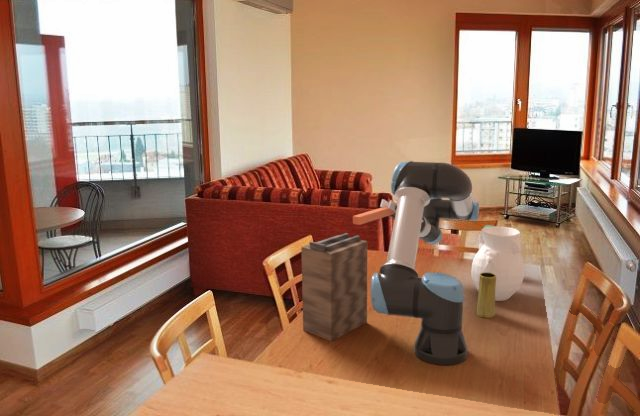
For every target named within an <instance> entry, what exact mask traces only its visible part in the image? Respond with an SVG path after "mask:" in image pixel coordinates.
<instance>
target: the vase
mask: <svg viewBox="0 0 640 416" xmlns="http://www.w3.org/2000/svg"><path fill="white" fill-rule="evenodd" d="M495 286H496V275H495V274H493V273H489V272H484V273H480V278H479V291H478V294H477V295H478V296H477V304H476V305H477V306H476V312H475V313H476V315H477V316H478V317H481V318H485V319H490V318H491V319H492V318H494V317H495V316H496V301H495Z"/></svg>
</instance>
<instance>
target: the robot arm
mask: <svg viewBox="0 0 640 416" xmlns="http://www.w3.org/2000/svg"><path fill="white" fill-rule="evenodd" d="M472 183H473V182H472V180H471V177H469V175H468V174H467V173H466V172H465V171H463V170H462V169H461V168H460V167H457V166H455V165H453V164H450V163H446V162H431V161H426V162H425V161H413V160H409V161H401V162H399V163H397V164H396V166H395V167H394V169H393V173H392V177H391V183H390V189H391V193H392V195H393V196H394V199H395V201H396V202H394V201H393V200H392V199H390V200H389V201H387V200H386V199H383V198H382V199H381V202H380V206H379V208H382V207H385V206H388V208H389V209H391V210H392V211H394V212H395V214H392V215H389V216H388V217H391V219H392V220H394V221H393V225H392V230H391V231H392V232H391V236H390V241H389V246H388V253H387V257H386V262H385V263H384V264H382V265H381V266H380V267H379V268H380V269H379V272H375V273H373V274H372V276H371V281H370V299H371V304H372V308H373V310H374V311H375V312H376V313H377V314H382V315H383V314H384V315H387V316H395V317H405V318H412V319H413V318H415V319H420V320H421V321H420V323H421V324H420V329H419V331H418V334H417V336H416V338H415V341H414V348H413V349H414V354H415V355H416V357H418V358H419V359H420V360H421V361H423V362H427V363H429V364H432V365H439V366H451V365H452V366H453V365H458V364H461V363H462V362H464V361H465V360H466V359H467V356H468V346H467V342H466V340H465V339H466V338H465V336H464V333H463V313H464V312H463V311H464V301H465V296H464V285H463V283H462V281H461V280H459V279H458V278H456V277H455V276H453V275H450V274H447V273H443V272H437V271H434V272H429V271H428V272H426V273H424V274H423V276H422V277H419V273H418V271H417V270H416V269H415V266H416V261H417V260H416V259H417V254H418V248H419V242H420V240H421V241H423V242H425V243H426V244H428V245H437V244H438V243H440V241H442V239H443V232H442V229H441V228H440V227H439V226H440V221H441V219H445V220H456V221H457V220H458V221H468V222H470V221H473V222H474V221H478V220H479V215H480V214H479V213H480V203H479V202H478V201H473V199H472V190H473V184H472ZM396 203H398V204H396Z"/></svg>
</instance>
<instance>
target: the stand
mask: <svg viewBox="0 0 640 416" xmlns="http://www.w3.org/2000/svg"><path fill="white" fill-rule="evenodd" d="M300 251H301V286H302V287H301V292H302V294H301V295H302V297H301V298H302V331H303V332H306V333H309V334H312V335H315V336H316V337H320V338H322V339H325V340H328V342H329V341H330V342H332V341H335V340H337V339H338V338H340V337H343V336H344V335H346V334H348V333H350V332H352V331H353V330H355V329H358V328H359V327H363V325H365V324H367V323H368V241H367V240H363V239H361V237H360V235H354V236H352V237H350V234H349V233H348V232H345V233H342V234H338V235H334V236H331V237H329V238H324V239H322V240H319V241H316V242H314V241H309V244H306V245H304V246H301V249H300Z"/></svg>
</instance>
